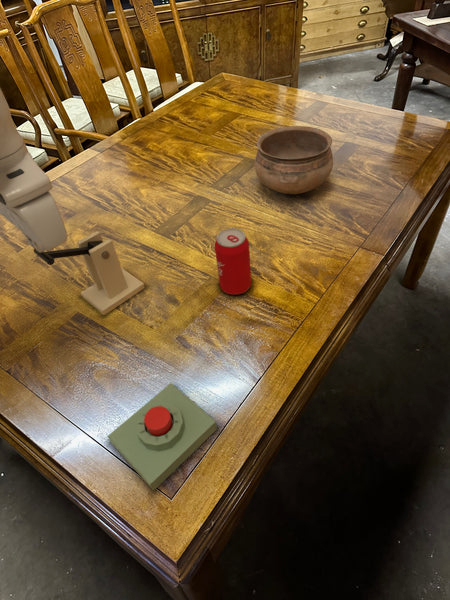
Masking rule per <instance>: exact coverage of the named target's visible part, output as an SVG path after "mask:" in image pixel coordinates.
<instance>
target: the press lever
mask: <svg viewBox="0 0 450 600" xmlns="http://www.w3.org/2000/svg"><path fill="white" fill-rule="evenodd" d="M103 242H104V240H103V241H92V242H88V246H87V247H81V248H79V247H73V248H65V249H56V250H55V249H54V250H50V251H43V252H41V253H39V252H38V251H37V250H36V249H34V248H33V253H34V254H35V255H36V256H38V257H39V258H40V259H41V260H43V262H45V263H46V264H47V265H48V266H53V265H54V264H55V263H56V262H55V260H56V259H63V258H69V257H70V258H71V257H78V256H82V255H86V254H88V255H89V256H90V253H89V250H91V249H92V248H94V247H96V246H98V245H99V244H101V243H103Z"/></svg>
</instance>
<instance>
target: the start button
mask: <svg viewBox="0 0 450 600" xmlns="http://www.w3.org/2000/svg"><path fill="white" fill-rule="evenodd" d="M144 422H145V425H146V427H147V430H148V431H149V433H151V434H152V435H156V436H160V435H163V434H165V433H167V432H168V431H169V430H170V428H171V426H172V418H171V415H170V413H169V411H168V410H167V409H166V408H165V407H162V406H157V407H153V408H151V409H150V410H149V411H148V412H147V413H146V415H145V418H144Z"/></svg>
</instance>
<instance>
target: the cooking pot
mask: <svg viewBox="0 0 450 600" xmlns="http://www.w3.org/2000/svg"><path fill="white" fill-rule="evenodd" d="M332 144H333V138H332V137H331V135H330V134H329V133H328V132H327V131H325V130H322V129H319V128H317V127H312V126H307V125H288V126H282V127H277V128H274V129H271V130H269V131H266V132H265V133H262V135H260V136H259V138H258V139H257V141H256V146H257V151H256V155H255V158H254V170H255V173H256V177H258V179H259V181H260V182H261V184H263V185H264V186H265V187H267V188H268V189H270V190H272V191H274V192H277V193H280V194H286V195H290V196H296V195H300V194H304V193H307V192H311V191H313V190H315V189H317V188H318V187H320V186H322V185H323V184H324V182H326V181H327V179H328V178H329V177H330V175H331V173H332V171H333V167H334V156H333V150H332V147H331V146H332Z"/></svg>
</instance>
